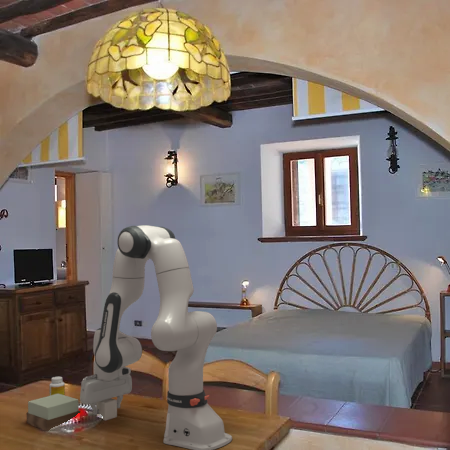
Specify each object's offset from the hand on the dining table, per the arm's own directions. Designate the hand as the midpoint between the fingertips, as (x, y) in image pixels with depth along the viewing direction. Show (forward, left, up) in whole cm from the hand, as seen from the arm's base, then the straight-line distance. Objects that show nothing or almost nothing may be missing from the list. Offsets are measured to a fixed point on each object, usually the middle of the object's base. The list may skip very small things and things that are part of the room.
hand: (106, 411), depth 201 cm
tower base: (+10, +15, -3) cm, 18 cm away
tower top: (+10, +15, +2) cm, 18 cm away
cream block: (0, 0, -2) cm, 2 cm away
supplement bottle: (+27, +3, -2) cm, 27 cm away
